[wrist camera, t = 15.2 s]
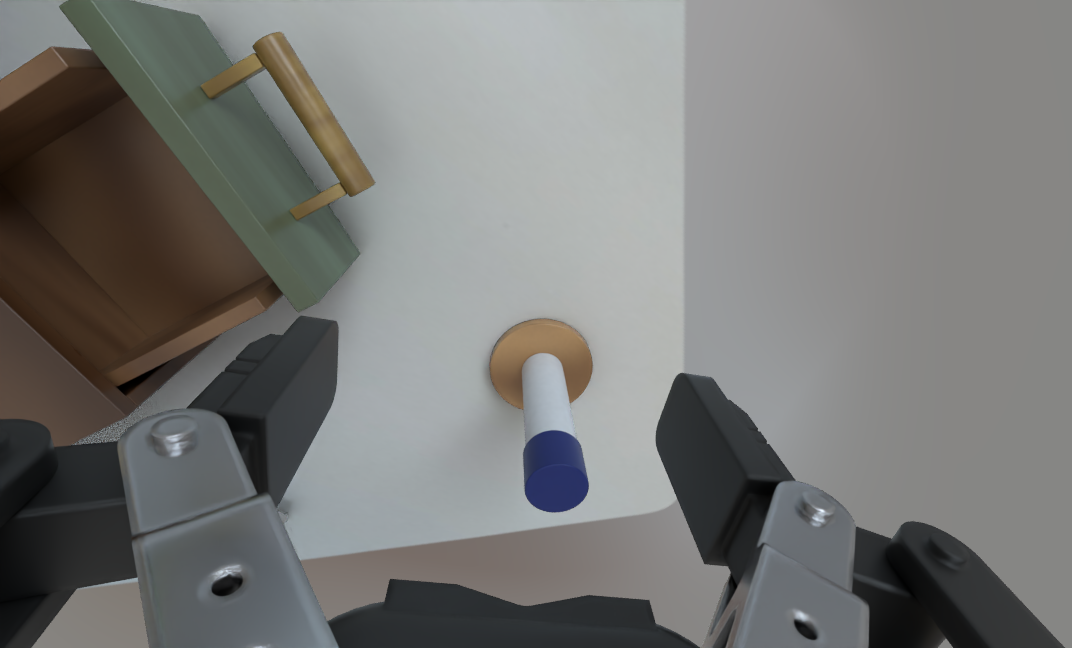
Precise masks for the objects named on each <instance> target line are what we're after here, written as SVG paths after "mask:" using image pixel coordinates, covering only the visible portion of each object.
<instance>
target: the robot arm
mask: <svg viewBox="0 0 1072 648" xmlns="http://www.w3.org/2000/svg"><path fill="white" fill-rule="evenodd" d="M337 365H338V324H337V322H336V321H333V320H326V319H319V318H312V317H306V316H300V317H299V318H298V319H297V320H296V321H295V322H294V323H293V324H292V325H291V326H290V328H289V329H288V330H287V331H286V332H285V333H284V334H283V336H282V335H275V334H269V335H267V336H265V337H263V338H261V339H259V340H257V341H254V342H252V343H250V344H249V345H248V346H247V347H246V348H245V349H244V350H243V351H242V352H241V353H240V354H239V355H238V356H237V357H236V360H233V361H232V362H231V363H230V364H229V365H228V366H227V367H226V368H225V372H221V373H220V374H219V375H218V376H217V377H216V378H215V379H214V380H213V381H212V382H211V384H210V385H209V386H208V387H207V388H206V389H205V390H204V391H203V392H202V393H201V394H200V395H199V396H198V397H197V398H196V399H195V400H194V401H193V402H192V403H191V404H190V405H189V406H188V407H187V408H186V409H175V410H169V411H165V412H161V413H158V414H155V415H152V416H149V417H147V418H145V419H142V420H140V421H139V422H137V423H135V424H134V425H132V426H131V427H130V428H128V429H127V430H126V431H125V432H124V433H123V434H122V436H121V437H120V439H119V441H114V442H105V443H93V444H82V445H70V446H59V447H54V445H53V441H52V437H51V434H50V431H49V430H48V428H47V427H45V426H44V425H43V424H41V423H38V422H35V421H31V420H25V419H0V648H31V647H32V646H33V645H34V643H35V642H36V641H37V639H38V638H39V637H40V636H41V634H42V633H43V632H44V630H45V629H46V628H47V627H48V625H49V624H50V623H51V621H52V620H53V619H54V617H55V616H56V615H57V614H58V612H59V611H60V610H61V608H62V607H63V606H64V604H65V603H66V602H67V601H68V599H69V598H70V597H71V595H72V594H73V593H74V592H75V590H76V589H77V588H82V587H87V586H93V585H98V584H104V583H109V582H115V581H120V580H126V579H131V578H137V577H138V583H139V589H140V595H141V600H142V607H143V613H144V619H145V625H146V631H147V637H148V643H149V648H700V647H698V646H697V645H696V644H694V643H693V642H691V641H690V640H688V639H686V638H685V637H683V636H681V635H679V634H678V633H676V632H674V631H672V630H669V629H667V628H665V627H663V626H661V625H658V624H656V623H655V620H654V616H653V612H652V609H651V605H650V601H649V600H641V599H629V598H617V597H616V598H615V597H604V596H592V595H587V596H582V597H577V598H572V599H566V600H561V601H555V602H550V603H544V604H538V605H533V606H521V605H517V604H514V603H511V602H508V601H505V600H502V599H499V598H496V597H493V596H490V595H487V594H484V593H481V592H478V591H475V590H472V589H469V588H466V587H463V586H460V585H457V584H445V583H433V582H421V581H409V580H396V579H390V581H389V585H388V589H387V594H386V598H385V602H380V603H374V604H370V605H367V606H363V607H360V608H356V609H353V610H351V611H349V612H346V613H343V614H341V615H338V616H337V617H335V618H333V619H331V620H329V621H327V620H326V618H325V616H324V614H323V611H322V609H321V607H320V605H319V602H318V600H317V598H316V596H315V594H314V591H313V589H312V587H311V585H310V583H309V580H308V578H307V576H306V573H305V571H304V569H303V567H302V565H301V562H300V560H299V558H298V556H297V553H296V551H295V549H294V547H293V545H292V542H291V540H290V538H289V536H288V533H287V531H286V529H285V527H284V525H283V522H282V520H281V518H280V516H279V514H278V511H277V509H276V508H277V506H278V504H279V503H280V501H281V499H282V497H283V495H284V493H285V491H286V490H287V488H288V486H289V484H290V482H291V480H292V478H293V477H294V475H295V473H296V471H297V469H298V467H299V465H300V464H301V462H302V460H303V458H304V456H305V454H306V452H307V451H308V449H309V447H310V445H311V443H312V441H313V439H314V438H315V436H316V434H317V432H318V430H319V428H320V426H321V425H322V423H323V421H324V419H325V417H326V415H327V413H328V412H329V410H330V408H331V405H332V403H333V400H334V396H335V391H336V385H337ZM656 446H657V450H658V453H659V455H660V458H661V460H662V462H663V465H664V467H665V470H666V472H667V475H668V477H669V479H670V482H671V484H672V487H673V489H674V492H675V494H676V496H677V499H678V501H679V503H680V506H681V509H682V510H683V513H684V516H685V518H686V521H687V523H688V525H689V528H690V530H691V533H692V535H693V537H694V540H695V542H696V544H697V547H698V550H699V552H700V554H701V557H702V559H703V562H704V564H709V565H720V566H728V567H729V569H730V571H731V574H730V576H729V577H728V579H727V581H726V583H725V585H724V588H723V590H722V593H721V596H720V598H719V601H718V604H717V607H716V610H715V612H714V615H713V618H712V620H711V623H710V626H709V629H708V631H707V634H706V637H705V639H704V642H703V645H702V648H938V646H939V645H940V644H941V643H942V642H943V641H944V640H945V639H947V640H948V641H949V643H950V644H951V645H952V647H953V648H1065V647H1064V646H1063V645H1062V644H1061V643H1060V642H1059V641H1058V640H1057V639H1056V638H1055V637H1054V636H1053V635H1052V634H1051V633H1050V632H1049V631H1048V630H1047V628H1046V627H1045V626H1044V625H1043V624H1042V623H1041V622H1040V621H1039V620H1038V619H1037V618H1036V617H1035V616H1034V615H1033V613H1032V612H1031V611H1030V610H1029V609H1028V608H1027V607H1026V606H1025V605H1024V604H1023V603H1022V602H1021V601H1020V600H1019V599H1018V598H1017V597H1016V596H1015V594H1014V593H1013V592H1012V591H1011V590H1010V589H1009V588H1008V587H1007V586H1006V585H1005V584H1004V583H1003V582H1002V581H1001V580H1000V579H999V578H998V576H997V575H996V574H995V573H994V572H993V571H992V570H991V569H990V568H989V567H988V566H987V565H986V564H985V563H984V561H982V559H981V558H980V557H979V556H978V555H976V553H975V552H973V551H972V550H971V549H969V547H967V546H966V545H965V544H963V543H962V542H961V541H959V540H957V539H956V538H955V537H953V536H951V535H949V534H948V533H946V532H944V531H942V530H940V529H938V528H936V527H933V526H931V525H928V524H925V523H919V522H913V521H912V522H906V523H904V524H903V525H901V527H900V528H899V530H898V531H897V533H896V534H895V535H894V537H893V538H892V539H891V538H888V537H885V536H882V535H879V534H876V533H873V532H871V531H867V530H865V529H861V528H859V527H856V525H855V523H854V520H853V518H852V516H851V515H850V513H849V512H848V511H847V510H846V509H845V507H844V506H843V505H842V504H840V503H839V502H838V501H837V500H836V499H834V498H833V497H832V496H830V495H829V494H827V493H826V492H824V491H822V490H820V489H818V488H816V487H814V486H812V485H809V484H806V483H803V482H799V481H795V479H794V478H793V476H792V475H791V473H790V472H789V471H788V470H787V468H786V467H785V465H784V464H783V463H782V461H781V460H780V458H779V457H778V456H777V454H776V453H775V451H774V450H773V449H772V447H771V446H770V445H769V444H767V441H766V439H765V438H764V436H763V435H762V434H761V432H759V431H758V428H757V427H756V426H755V424H754V423H753V421H752V420H751V419H750V417H749V416H748V414H747V413H745V412H744V411H743V410H741V408H739V407H738V406H737V405H735V404H734V403H733V402H732V401H731V400H728V399H727V398H726V396H725V395H724V394H723V392H722V391H721V389H720V388H719V386H718V385H717V384H716V382H715V381H714V379H712V378H711V377H706V376H699V375H692V374H686V373H680V374H678V375H677V376H676V378H675V380H674V382H673V384H672V387H671V390H670V393H669V395H668V398H667V401H666V403H665V406H664V409H663V411H662V414H661V417H660V419H659V422H658V425H657V430H656Z"/></svg>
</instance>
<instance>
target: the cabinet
mask: <svg viewBox="0 0 1072 648" xmlns="http://www.w3.org/2000/svg"><path fill="white" fill-rule="evenodd" d="M220 335H221V334H220ZM220 335H218V336H216V337H214V338H212V339H210V340H208V341H206V342H204V343H202V344H200V345H198V346H196V347H194V348H192V349H190V350H188V351H187V352H185V353H183V354H181V355H179V356H177V357H175V358H173V359H171V360H169V361H167V362H165V363H163V364H161V365H159V366H157V367H155V368H153V369H151V370H149V371H147V372H145V373H143V374H141V375H139V376H138V377H136V378H134V379H132V380H130V381H128V382H126V383H124V384H122V385H120V386H118V387H116V386H114V385H113V384H112V383H111V382H110V381H109V380H108V379H107V378H106V377H105V376H104V375H103V374H102V373H101V372H100V371H99V370H98V369H97V368H96V367H95V366H93V365H92V364H91V363H90V362H89V361H88V360H87V359H86V358H85V357H84V356H83V355H82V354H81V353H80V352H79V351H78V350H77V349H76V348H75V347H74V346H72V345H71V344H70V343H69V342H68V341H67V340H66V339H65V338H64V337H63V336H62V335H61V334H60V333H59V332H58V331H57V330H56V329H55V328H54V327H53V326H51V325H50V324H49V323H48V322H47V321H46V320H45V319H44V318H43V317H42V316H41V315H40V314H39V313H38V312H37V311H36V310H35V309H34V308H33V307H32V306H30V305H29V304H28V303H27V302H26V301H25V300H24V299H23V298H22V297H21V296H20V295H19V294H18V293H17V292H16V291H15V290H14V289H13V288H12V287H11V286H9V285H8V284H7V283H6V282H5V281H4V280H3V279H2V278H1V277H0V419H25V420H31V421H35V422H38V423H41V424H43V425H44V426H45V427H47V428H48V430H49V431H50V434H51V437H52V441H53V445H54V447H59V446H69V445H71V444H73V443H75V442H78V441H80V440H82V439H84V438H86V437H88V436H90V435H92V434H94V433H96V432H98V431H100V430H102V429H104V428H106V427H108V426H110V425H112V424H114V423H116V422H118V421H120V420H122V419H124V418H126V417H128V416H129V415H130V414H131V413H132V412H133V411H134V410H136V409H137V407H139V406H140V405H141V404H142V403H143V402H145V401H146V400H147V399H148V398H149V397H150V396H151V395H153V394H154V393H155V392H156V391H157V390H158V389H159V388H161V387H162V386H163V385H164V384H165V383H166V382H167V381H169V380H170V379H171V378H172V377H173V376H174V375H175V374H177V373H178V372H179V371H180V370H181V369H182V368H183V367H185V366H186V365H187V364H188V363H189V362H190V361H191V360H193V359H194V358H195V357H196V356H197V355H198V354H199V353H200V352H202V351H203V350H204V349H205V348H206V347H207V346H208V345H210V344H211V343H212V342H213V341H214V340H215V339H216V338H218V337H219V336H220Z"/></svg>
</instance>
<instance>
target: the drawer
mask: <svg viewBox="0 0 1072 648" xmlns="http://www.w3.org/2000/svg"><path fill="white" fill-rule="evenodd" d="M59 8H60V9H61V10H62V12H63V13H64V14H65V15H66V17H67V18H68V19H69V21H70V22H71V23H72V24H73V26H74V27H75V28H76V30H77V31H78V32H79V33H80V35H81V36H82V37H83V38H84V40H85V41H86V42H87V44H88V45H89V46H90V47H91V49H92V50H89V49H77V48H65V47H50V48H48V49H47V50H45V51H44V52H42V53H41V54H39V55H38V56H36V57H35V58H33V59H32V60H30V61H28V62H27V63H25V64H24V65H22V66H21V67H19V68H18V69H16V70H15V71H13V72H12V73H10V74H9V75H7V76H6V77H4V78H3V79H1V80H0V277H1V278H2V279H3V280H4V281H5V282H6V283H7V284H8V285H9V286H11V287H12V288H13V289H14V290H15V291H16V292H17V293H18V294H19V295H20V296H21V297H22V298H23V299H24V300H25V301H26V302H27V303H28V304H29V305H30V306H32V307H33V308H34V309H35V310H36V311H37V312H38V313H39V314H40V315H41V316H42V317H43V318H44V319H45V320H46V321H47V322H48V323H49V324H50V325H51V326H53V327H54V328H55V329H56V330H57V331H58V332H59V333H60V334H61V335H62V336H63V337H64V338H65V339H66V340H67V341H68V342H69V343H70V344H71V345H72V346H74V347H75V348H76V349H77V350H78V351H79V352H80V353H81V354H82V355H83V356H84V357H85V358H86V359H87V360H88V361H89V362H90V363H91V364H92V365H93V366H95V367H96V368H97V369H98V370H99V371H100V372H101V373H102V374H103V375H104V376H105V377H106V378H107V379H108V380H109V381H110V382H111V383H112V384H113V385H114V386H116V387H118V386H120V385H122V384H124V383H126V382H128V381H130V380H132V379H134V378H136V377H138V376H139V375H141V374H143V373H145V372H147V371H149V370H151V369H153V368H155V367H157V366H159V365H161V364H163V363H165V362H167V361H169V360H171V359H173V358H175V357H177V356H179V355H181V354H183V353H185V352H187V351H188V350H190V349H192V348H194V347H196V346H198V345H200V344H202V343H204V342H206V341H208V340H210V339H212V338H214V337H216V336H218V335H220V334H222V333H224V332H226V331H228V330H230V329H232V328H234V327H236V326H237V325H239V324H241V323H243V322H245V321H247V320H249V319H251V318H253V317H255V316H257V315H259V314H261V313H263V312H265V311H267V310H268V309H269V308H270V307H271V306H272V305H273V304H274V303H275V302H276V301H277V300H278V299H279V298H280V297H281V296H283V295H285V296H286V298H287V299H288V300H289V302H290V303H291V304H292V305H293V307H294V308H295V309H296V311H297V312H300V311H302V310H304V309H306V308H308V307H310V306H312V305H314V304H316V303H318V302H319V301H320V300H321V299H322V298H323V297H324V295H325V294H326V293H327V292H328V291H329V290H330V289H331V287H332V286H333V285H334V284H335V283H336V282H337V280H338V279H339V278H340V277H341V276H342V275H343V273H344V272H345V271H346V270H347V269H348V268H349V267H350V265H351V264H352V263H353V262H354V261H355V260H356V258H357V257H358V256H359V255H360V252H359V250H358V249H357V247H356V246H355V244H354V243H353V242H352V240H351V239H350V237H349V236H348V234H347V233H346V231H345V230H344V228H343V227H342V225H341V224H340V222H339V221H338V219H337V218H336V216H335V215H334V213H333V212H332V211H331V209H330V208H329V206H328V204H330V203H331V202H333V201H335V200H337V199H339V198H341V197H343V196H344V195H346V194H348V195H349V196H350V197H352V196H355V195H357V194H359V193H360V192H362V191H364V190H366V189H368V188H369V187H371V186H373V185H374V184H375V181H374V179H373V177H372V176H371V174H370V173H369V171H368V169H367V168H366V166H365V165H364V163H363V161H362V160H361V158H360V156H359V155H358V153H357V152H356V150H355V148H354V147H353V145H352V144H351V142H350V140H349V139H348V137H347V136H346V134H345V132H344V131H343V129H342V127H341V126H340V124H339V123H338V121H337V119H336V118H335V116H334V115H333V113H332V111H331V110H330V108H329V107H328V105H327V103H326V102H325V100H324V98H323V97H322V95H321V94H320V92H319V90H318V89H317V87H316V86H315V84H314V82H313V81H312V79H311V77H310V76H309V74H308V73H307V71H306V69H305V68H304V66H303V65H302V63H301V61H300V60H299V58H298V57H297V55H296V53H295V52H294V50H293V48H292V47H291V45H290V44H289V42H288V40H287V39H286V37H285V36H284V34H283V33H282V32H276V33H272V34H269V35H267V36H265V37H263V38H261V39H259V40H258V41H257V42H256V43H255V44H254V45H253V49H254V51H255V52H256V53H253V54H251V55H250V56H248V57H246V58H245V59H243V60H241V61H240V62H238V63H237V64H235V65H233V64H232V63H231V61H230V60H229V59H228V57H227V56H226V54H225V53H224V51H223V50H222V48H221V47H220V45H219V44H218V42H217V41H216V39H215V38H214V36H213V35H212V33H211V32H210V30H209V29H208V28H207V26H206V25H205V23H204V22H203V20H202V19H201V17H200V16H199V15H195V14H190V13H186V12H181V11H177V10H172V9H168V8H163V7H159V6H154V5H150V4H145V3H141V2H136V1H132V0H68V1H66V2H65V3H63V4H62V5H60V6H59ZM265 69H267V70H268V72H269V74H270V75H271V77H272V78H273V80H274V81H275V83H276V84H277V86H278V87H279V89H280V90H281V92H282V93H283V95H284V97H285V98H286V100H287V101H288V103H289V104H290V106H291V107H292V109H293V110H294V112H295V113H296V115H297V116H298V118H299V120H300V121H301V123H302V124H303V126H304V127H305V129H306V130H307V132H308V133H309V135H310V136H311V138H312V139H313V141H314V143H315V144H316V146H317V147H318V149H319V150H320V152H321V153H322V155H323V156H324V158H325V159H326V161H327V162H328V164H329V166H330V167H331V169H332V170H333V172H334V173H335V175H336V176H337V178H338V179H339V181H340V182H339V183H338V184H336V185H334V186H332V187H330V188H328V189H327V190H325V191H323V192H321V193H319V191H318V190H317V188H316V187H315V185H314V184H313V183H312V181H311V180H310V178H309V177H308V175H307V174H306V172H305V171H304V169H303V168H302V166H301V165H300V163H299V162H298V160H297V159H296V157H295V156H294V154H293V153H292V152H291V150H290V149H289V147H288V146H287V144H286V143H285V141H284V140H283V138H282V137H281V135H280V134H279V132H278V131H277V129H276V128H275V126H274V125H273V123H272V122H271V121H270V119H269V118H268V116H267V115H266V113H265V112H264V110H263V109H262V107H261V106H260V104H259V103H258V101H257V100H256V98H255V97H254V95H253V94H252V92H251V91H250V90H249V88H248V87H247V85H246V84H245V81H246V80H248V79H250V78H251V77H253V76H255V75H256V74H258V73H260V72H261V71H263V70H265Z"/></svg>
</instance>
